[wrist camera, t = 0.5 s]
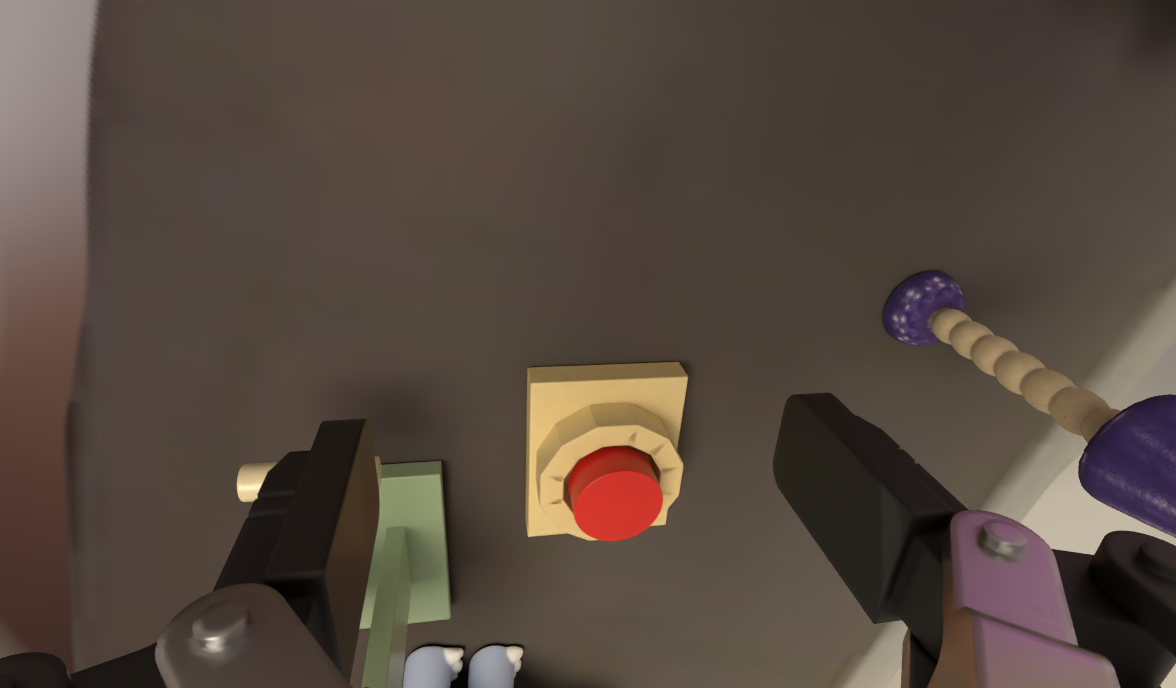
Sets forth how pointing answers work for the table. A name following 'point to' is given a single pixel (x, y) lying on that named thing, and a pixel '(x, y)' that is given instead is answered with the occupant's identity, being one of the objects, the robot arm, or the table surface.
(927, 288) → the toy lamp
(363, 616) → the bracket
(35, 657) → the robot arm
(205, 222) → the table surface
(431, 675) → the hippopotamus toy
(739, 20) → the table surface
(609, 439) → the button box
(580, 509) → the button
